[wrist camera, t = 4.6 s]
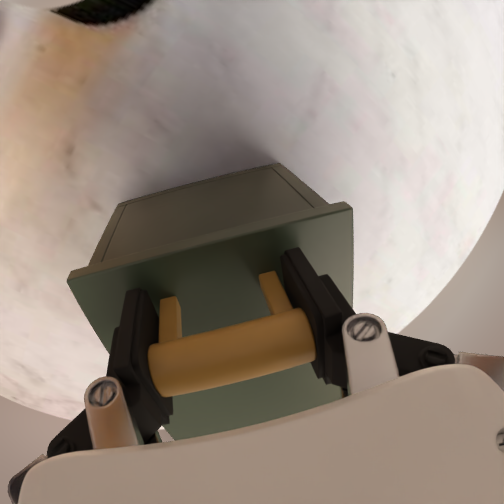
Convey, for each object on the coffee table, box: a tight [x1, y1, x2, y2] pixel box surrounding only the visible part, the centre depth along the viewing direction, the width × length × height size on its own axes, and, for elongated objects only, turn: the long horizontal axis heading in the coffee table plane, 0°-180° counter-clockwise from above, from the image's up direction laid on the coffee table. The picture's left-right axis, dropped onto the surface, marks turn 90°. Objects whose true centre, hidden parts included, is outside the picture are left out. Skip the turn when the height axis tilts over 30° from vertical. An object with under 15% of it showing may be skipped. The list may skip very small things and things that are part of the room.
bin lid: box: [67, 201, 353, 441], centre depth 14 cm, size 14×12×5 cm
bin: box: [88, 163, 329, 266], centre depth 21 cm, size 14×12×10 cm
